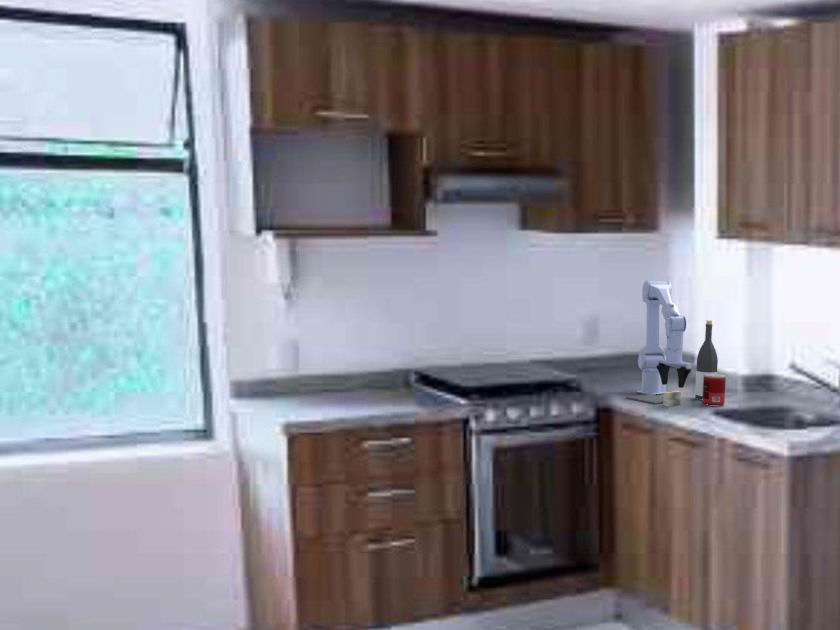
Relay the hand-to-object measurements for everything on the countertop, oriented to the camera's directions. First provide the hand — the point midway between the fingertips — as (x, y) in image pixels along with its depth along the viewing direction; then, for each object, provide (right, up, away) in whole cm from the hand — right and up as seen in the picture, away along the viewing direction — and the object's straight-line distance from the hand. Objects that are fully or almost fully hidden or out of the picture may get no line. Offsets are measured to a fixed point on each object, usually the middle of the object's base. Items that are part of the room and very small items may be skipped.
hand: (672, 385), depth 372 cm
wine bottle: (+16, -6, +16) cm, 23 cm away
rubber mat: (-5, -6, +11) cm, 13 cm away
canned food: (+16, -7, +4) cm, 18 cm away
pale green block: (0, -7, +1) cm, 7 cm away
